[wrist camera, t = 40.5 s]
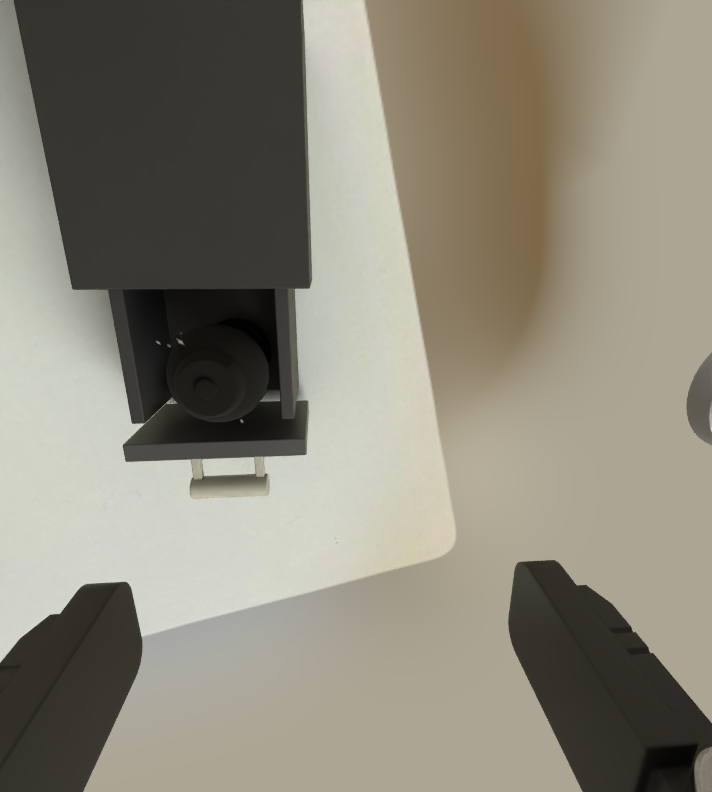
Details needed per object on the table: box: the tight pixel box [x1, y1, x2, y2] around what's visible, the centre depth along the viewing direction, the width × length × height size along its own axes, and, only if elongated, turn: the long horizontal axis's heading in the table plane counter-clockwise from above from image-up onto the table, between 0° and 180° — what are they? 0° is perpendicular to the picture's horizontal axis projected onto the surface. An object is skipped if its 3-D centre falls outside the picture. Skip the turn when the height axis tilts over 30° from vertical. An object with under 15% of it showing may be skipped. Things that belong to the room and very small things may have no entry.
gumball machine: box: [155, 319, 271, 426], centre depth 27 cm, size 7×6×10 cm
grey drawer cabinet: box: [14, 0, 312, 290], centre depth 25 cm, size 16×13×10 cm
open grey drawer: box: [108, 289, 309, 499], centre depth 29 cm, size 19×11×8 cm, turn 0°
